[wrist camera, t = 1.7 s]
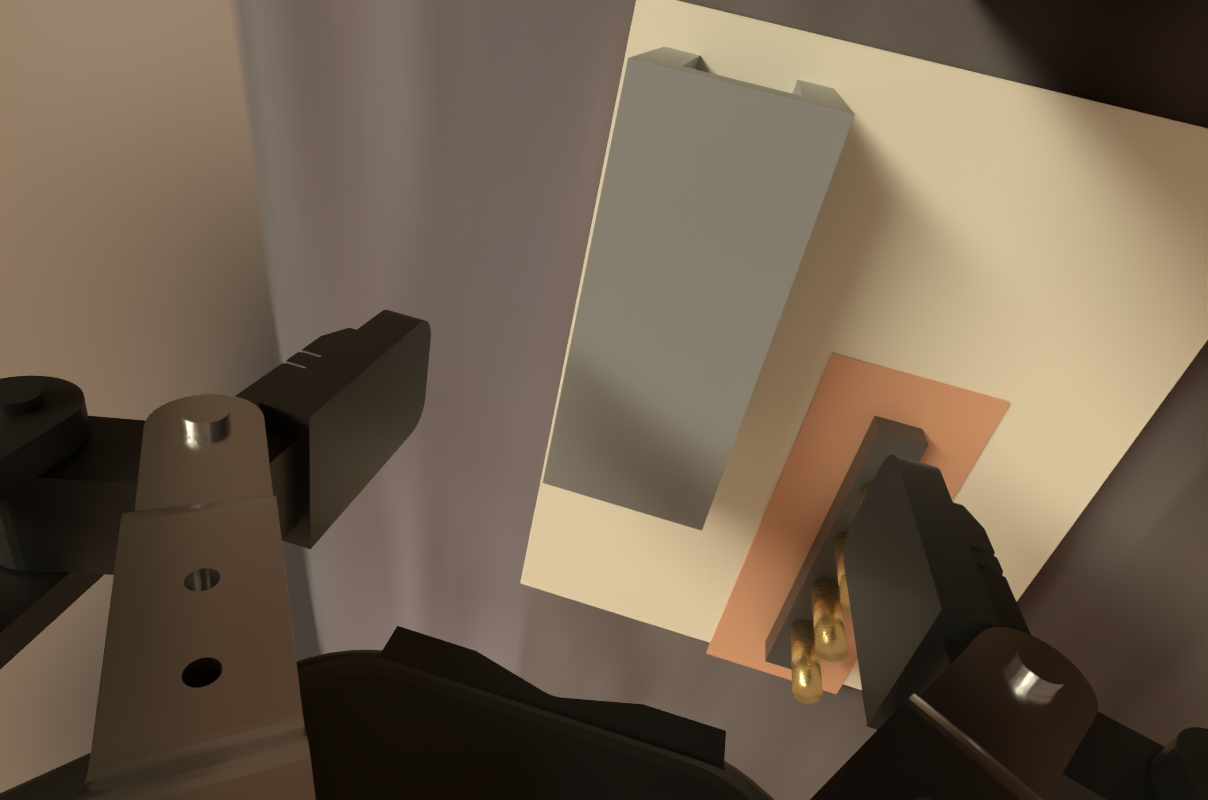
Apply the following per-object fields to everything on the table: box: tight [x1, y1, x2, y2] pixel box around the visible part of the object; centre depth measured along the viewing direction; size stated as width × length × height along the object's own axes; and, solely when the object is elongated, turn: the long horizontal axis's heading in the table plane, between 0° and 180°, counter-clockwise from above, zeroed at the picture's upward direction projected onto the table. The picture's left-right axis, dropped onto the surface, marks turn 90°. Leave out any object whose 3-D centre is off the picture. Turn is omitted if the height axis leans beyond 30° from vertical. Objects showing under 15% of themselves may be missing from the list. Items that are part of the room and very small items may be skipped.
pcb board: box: [520, 0, 1208, 694], centre depth 22 cm, size 20×16×1 cm
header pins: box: [790, 481, 873, 704], centre depth 21 cm, size 7×1×3 cm, turn 168°
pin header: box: [765, 416, 928, 670], centre depth 23 cm, size 10×1×1 cm, turn 168°
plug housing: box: [543, 47, 855, 531], centre depth 17 cm, size 10×4×5 cm, turn 168°
